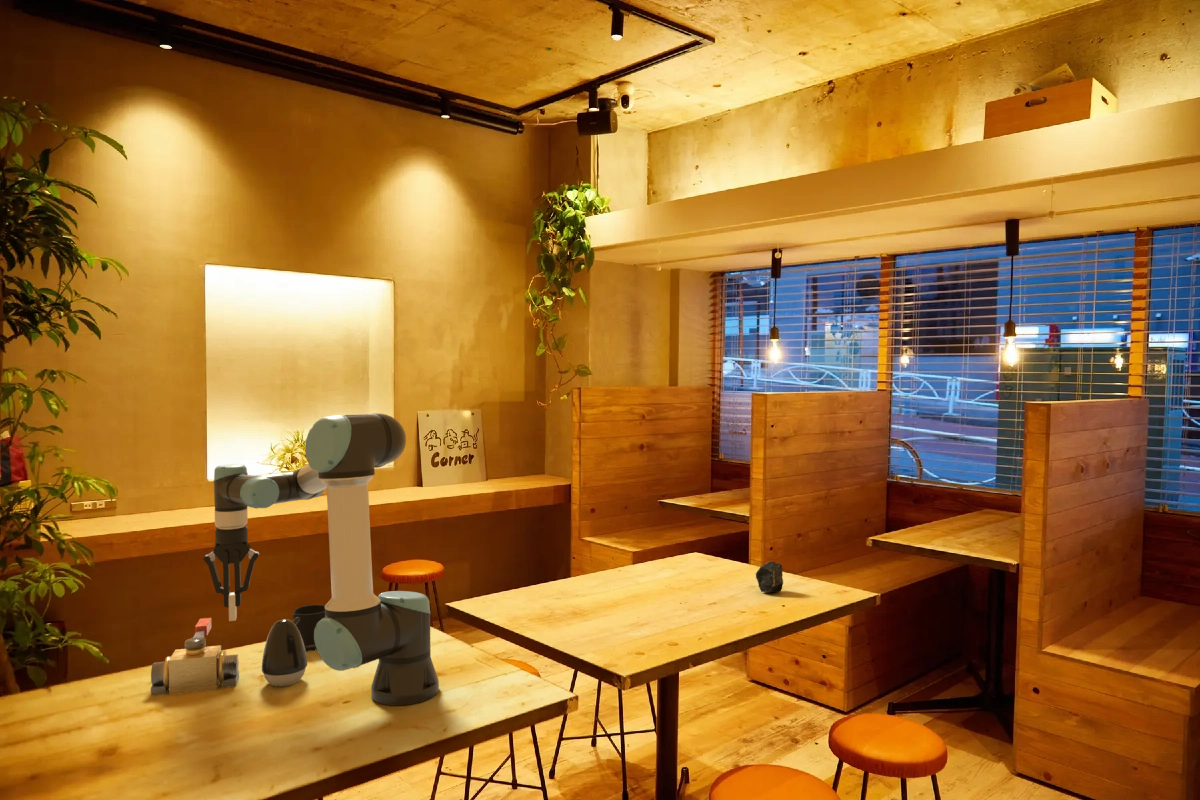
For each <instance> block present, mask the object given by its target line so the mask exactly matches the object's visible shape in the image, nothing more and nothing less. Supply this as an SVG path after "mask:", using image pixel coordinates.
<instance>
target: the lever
mask: <svg viewBox="0 0 1200 800" xmlns="http://www.w3.org/2000/svg"><path fill="white" fill-rule="evenodd" d="M211 629H212V617H203V618H199V619H198V622H197V623H196V624H195V626H194V635H193V637H191V638H187V639H186V640H185V641H184V649H188V650H193V649H199V648H203V647H207V646H206V639H207V638H206V637H208V635H209V633H210V631H211ZM205 636H206V637H205Z"/></svg>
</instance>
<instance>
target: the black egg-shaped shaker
mask: <svg viewBox="0 0 1200 800" xmlns="http://www.w3.org/2000/svg"><path fill="white" fill-rule="evenodd" d="M299 620H300V618H299V617H296V618H295V619H294V620H293V619H292V620H291V619H287V618H283V619H280V620H277V621H276V622H274V624H273V625H272V626H271V628H270V630H269V633H268V634H267V638H266V641H265V644H264V648H263V653H262V658H261V672H262V674H263V677H264V678H265V680H266V681H267V682H268V684H270V685H272V686H275V687H288V686H291V685H294V684H296V683H297V682H299V681H300V680H301V679H302V678H303V676H304V674H305V671H306V668H307V666H308V656H307V651H306V650H305V646H304V642H303V639H302V636H301V634H300V632H299V629H298V628H297V626H296V624H297V623H298V622H299Z"/></svg>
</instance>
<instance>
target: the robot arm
mask: <svg viewBox="0 0 1200 800" xmlns="http://www.w3.org/2000/svg"><path fill="white" fill-rule="evenodd" d="M406 443H407V435H406V432H405V430H404V427H403V425H402V424H401V423H400V422H399V421H398V420H397V419H396V418H394V417H392V416H390V415H388V414H385V413H363V414H362V413H361V414H359V413H358V414H336V415H330V416H324V417H322V418H319V419H318V420H317V421H315V422H314V423H313V425H312V427H311V428H310V429H309V431H308V434H307V436H306V439H305V446H304V448H305V451H304V453H305V459H306V461H307V462H308V463H307V464H305V465H303V466H302V467H301V468H298V469H296V470H291V471H285V472H277V473H276V472H275V473H269V474H268V473H267V474H260V475H259V474H257V475H250V474H248V469H247V467H246V465H245V464H239V463H237V464H236V463H235V464H233V463H232V464H231V463H230V464H221V465H218V466H216V467H214V475H213V494H214V495H213V497H214V499H213V500H214V503H213V504H214V526H215V527H216V528H215V529H214V542H215V543H214V547H213V548H212V551H211V552H210V553H208V554H205V556H203V561H204V562H205V564H206V565H207V566H208V569H209V573H210V577H211V580H212V582H213V583H212V584H213V586H214V590H215V593H216V594H222V595H223V606H224V608H228V622H234V621H236V620H237V618H238V616H237V615H238V611H237V610H238V608H237V607H240V606H241V604H242V593H244V592H247V591H248V589H249V587H250V584H251V579H252V574H253V572H254V571H253V570H254V567H255V563H256V560H257V559H258V557H259V556H260V551H258V550H257V551H255V550H254V549H253V548H251V545H250V544H249V536H248V535H249V533H248V532H249V530H248V526H247V524H248V521H249V520H248V518H249V517H248V508H252V509H257V510H258V509H268V508H270V507H271V506H273V505H278V504H282V503H283V504H284V503H289V502H296V501H303V500H304V501H305V500H306V501H308V500H311V499H314V498H315V499H316V498H319V497H320V496H322V495H323V492H324V491H326V501H327V519H328V520H327V521H328V522H327V523H328V525H327V526H328V542H329V543H328V545H329V546H328V547H329V566H330V567H329V568H330V582H331V583H330V585H331V586H330V588H331V589H330V590H331V598H330V599H329V600H328V602H326V603H325V618H323V619H321V620H320V621H319V622H318V623H317V625H316V627H315V630H314V641H315V645H316V648H317V650H316V651H317V654H318V655H319V657H320V658H321V659H322V661H323V662H324V663H325V664H326V665H327V666H328V668H330V669H332V670H334V671H338V672H339V671H340V672H341V671H342V672H343V671H346V670H347V671H348V670H350V669H356V668H357V669H358V668H359V667H361V666H363V665H366V664H368V663H373V662H374V661H377V660H378V664H377V666H376V669H375V673H374V676H373V679H372V683H371V688H370V689H371V690H370V691H371V692H370V693H371V695H370V696H371V699H372V700H373V701H374V702H376V703H379V704H381V705H387V706H408V705H414V704H418V703H422V702H425V701H427V700H430V699H432V698H434V696H436V695H437V694H438V693H439V691H440V690H439V689H440V688H439V687H440V686H439V682H440V681H439V677H438V674H437V671H436V668H435V666H434V663H433V660H432V657H431V609H430V599H429V598H428V596H427V595H425V594H424V593H420V592H416V591H408V590H407V591H405V590H395V591H394V590H393V591H385V592H380V593H379V594H378V596H377V595H376V594H375V593H374V585H373V583H374V582H373V566H372V565H373V564H372V562H373V560H372V542H371V524H370V523H371V521H370V519H371V517H370V503H369V502H370V501H369V500H370V499H369V483H370V482H371V481H372V479H373V478H374V477H375V476H376V472H375V471H376V470H375V469H377V468H381V467H383V466H386V465H389V464H390V463H393V462H394V461H396V460H397V459H399V457H401V455H402V454H403V453H404V451H405V448H406ZM247 555H248V559H249V560H248V561H249V562H248V566H247V569H246V573H245V578H244V581H243V584H242V573H241V572H242V565H241V564H242V561H243V560H244V558H245V557H246V556H247ZM216 557H217V559H218V560H219V562H221V564H222V568H223V569H222V570H223V572H222V574H223V575H222V576H223V577H222V578H223V581H222V582H221V578H220V575H219V572H218V568H217V565H216ZM231 564H233V568H234V573H233V574H234V591H233V592H231ZM222 583H223V584H222ZM222 585H223V586H222Z"/></svg>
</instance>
